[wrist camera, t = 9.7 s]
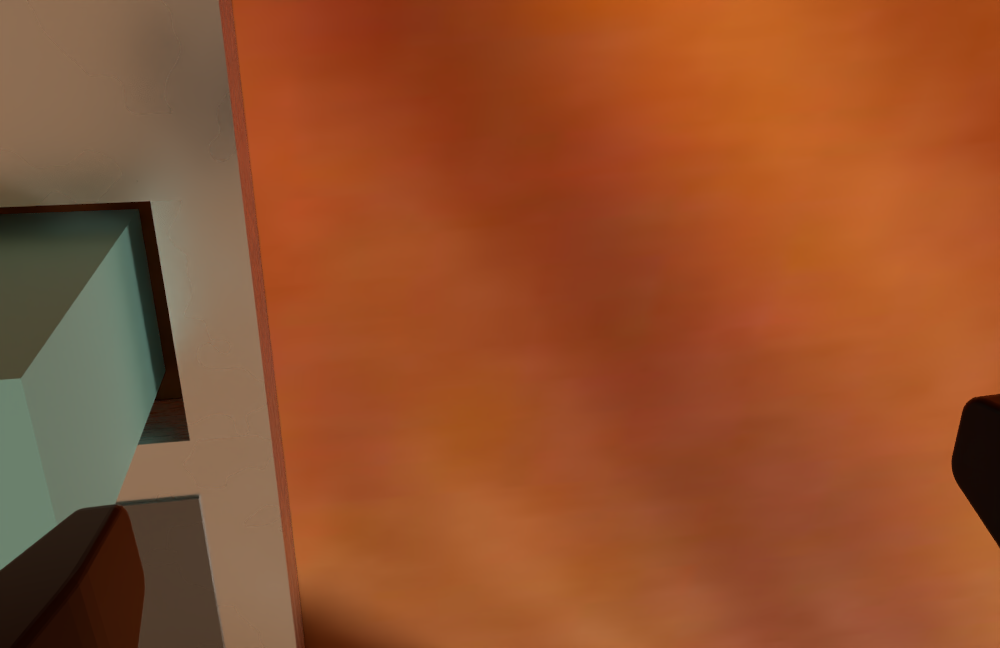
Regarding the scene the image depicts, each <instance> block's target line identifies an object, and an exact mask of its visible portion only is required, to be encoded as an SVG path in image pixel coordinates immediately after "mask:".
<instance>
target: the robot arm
mask: <svg viewBox="0 0 1000 648" xmlns="http://www.w3.org/2000/svg"><path fill="white" fill-rule="evenodd" d="M952 471H953V475H954V477H955V480H956V482H957V484H958V485H959V487H960V488H961V490H962V491H963V493H964V494H965V496H966V497H967V499H968V501H969V502H970V504H971V505H972V507H973V508H974V510H975V511H976V513H977V514H978V516H979V517H980V519H981V520H982V522H983V523H984V525H985V526H986V528H987V529H988V531H989V532H990V534H991V535H992V537H993V538H994V540H995V541H996V543H997V544H998V546H999V548H1000V394H996V395H988V396H980V397H975V398H972V399H971V400H969V401H968V402H967V403H966V405H965V406H964V408H963V411H962V415H961V420H960V424H959V429H958V433H957V437H956V442H955V446H954V451H953V455H952ZM144 595H145V578H144V571H143V567H142V563H141V559H140V555H139V551H138V547H137V544H136V540H135V536H134V532H133V528H132V524H131V520H130V517H129V514H128V512H127V510H126V509H125V508H124V507H123V506H122V505H120V504H111V505H103V506H95V507H87V508H81V509H78V510H76V511H75V512H73V513H72V514H71V515H69V516H68V517H67V518H66V519H64V520H63V521H62V522H61V523H59V524H58V525H57V526H56V527H54V528H53V529H52V530H50V531H49V532H48V533H47V534H45V535H44V536H43V537H42V538H40V539H39V540H38V541H37V542H35V543H34V544H33V545H31V546H30V547H29V548H28V549H26V550H25V551H24V552H23V553H21V554H20V555H19V556H18V557H16V558H15V559H14V560H12V561H11V562H10V563H9V564H7V565H6V566H5V567H4V568H2V569H1V570H0V648H138V643H139V635H140V628H141V620H142V612H143V604H144Z"/></svg>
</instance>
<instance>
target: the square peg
mask: <svg viewBox="0 0 1000 648" xmlns="http://www.w3.org/2000/svg"><path fill="white" fill-rule="evenodd" d="M165 371H166V370H165V364H164V358H163V352H162V346H161V340H160V334H159V328H158V322H157V316H156V310H155V304H154V298H153V292H152V286H151V280H150V274H149V268H148V262H147V256H146V250H145V244H144V238H143V232H142V226H141V220H140V214H139V209H126V210H99V211H72V212H45V213H18V214H0V570H1V569H2V568H4V567H5V566H6V565H7V564H9V563H10V562H11V561H12V560H14V559H15V558H16V557H18V556H19V555H20V554H21V553H23V552H24V551H25V550H26V549H28V548H29V547H30V546H31V545H33V544H34V543H35V542H37V541H38V540H39V539H40V538H42V537H43V536H44V535H45V534H47V533H48V532H49V531H50V530H52V529H53V528H54V527H56V526H57V525H58V524H59V523H61V522H62V521H63V520H64V519H66V518H67V517H68V516H69V515H71V514H72V513H73V512H75V511H76V510H78V509H81V508H87V507H95V506H103V505H111V504H115V503H116V500H117V498H118V495H119V493H120V490H121V487H122V485H123V482H124V479H125V477H126V474H127V471H128V469H129V466H130V463H131V461H132V458H133V456H134V453H135V450H136V448H137V445H138V442H139V440H140V437H141V434H142V432H143V429H144V427H145V424H146V421H147V419H148V416H149V413H150V411H151V408H152V405H153V403H154V400H155V398H156V395H157V392H158V390H159V387H160V384H161V382H162V379H163V376H164V374H165Z"/></svg>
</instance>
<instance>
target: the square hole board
mask: <svg viewBox="0 0 1000 648" xmlns="http://www.w3.org/2000/svg"><path fill="white" fill-rule="evenodd" d="M143 201H150V203H151V209H152V215H153V221H154V227H155V233H156V239H157V245H158V251H159V257H160V263H161V269H162V275H163V281H164V287H165V293H166V299H167V305H168V311H169V317H170V323H171V329H172V335H173V341H174V347H175V353H176V359H177V365H178V371H179V377H180V383H181V389H182V396H183V399H170V400H157V401H154V403H153V405H152V408H151V411H150V413H149V416H148V419H147V421H146V424H145V427H144V429H143V432H142V434H141V437H140V440H139V442H138V445H137V448H136V450H135V453H134V456H133V458H132V461H131V463H130V466H129V469H128V471H127V474H126V477H125V479H124V482H123V485H122V487H121V490H120V493H119V495H118V498H117V500H116V503H115V504H120V505H122V506H123V507H124V508H125V509H126V510H127V512H128V514H129V517H130V520H131V524H132V528H133V532H134V536H135V540H136V544H137V547H138V551H139V555H140V559H141V563H142V567H143V571H144V578H145V595H144V604H143V612H142V620H141V628H140V635H139V643H138V648H305V640H304V631H303V623H302V614H301V605H300V596H299V588H298V579H297V570H296V562H295V553H294V544H293V535H292V527H291V518H290V509H289V501H288V492H287V483H286V474H285V466H284V457H283V448H282V440H281V431H280V422H279V413H278V405H277V396H276V387H275V378H274V370H273V361H272V352H271V344H270V335H269V326H268V317H267V309H266V300H265V291H264V283H263V274H262V265H261V256H260V248H259V239H258V230H257V222H256V213H255V204H254V195H253V187H252V178H251V169H250V160H249V152H248V143H247V134H246V126H245V117H244V108H243V99H242V91H241V82H240V73H239V65H238V56H237V47H236V38H235V30H234V21H233V12H232V4H231V0H0V207H21V206H45V205H70V204H94V203H119V202H143Z"/></svg>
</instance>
